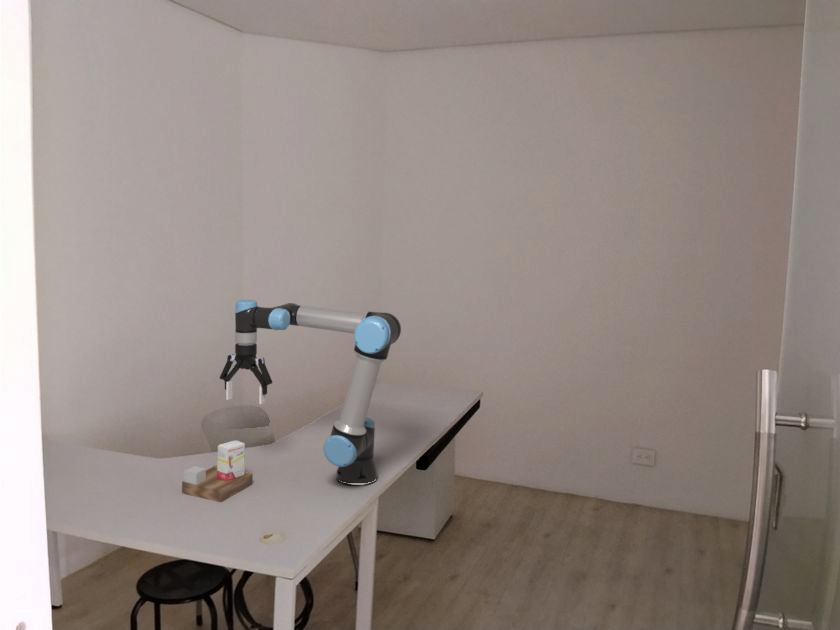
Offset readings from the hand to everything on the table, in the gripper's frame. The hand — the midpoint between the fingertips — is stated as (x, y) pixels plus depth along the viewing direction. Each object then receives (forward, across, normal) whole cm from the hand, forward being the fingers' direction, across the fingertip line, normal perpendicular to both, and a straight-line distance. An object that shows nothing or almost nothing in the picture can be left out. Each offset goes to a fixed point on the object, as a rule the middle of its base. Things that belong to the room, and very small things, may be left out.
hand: (245, 401), depth 262 cm
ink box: (+24, -2, +12) cm, 27 cm away
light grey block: (+24, +7, +21) cm, 32 cm away
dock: (+28, +2, +15) cm, 32 cm away
